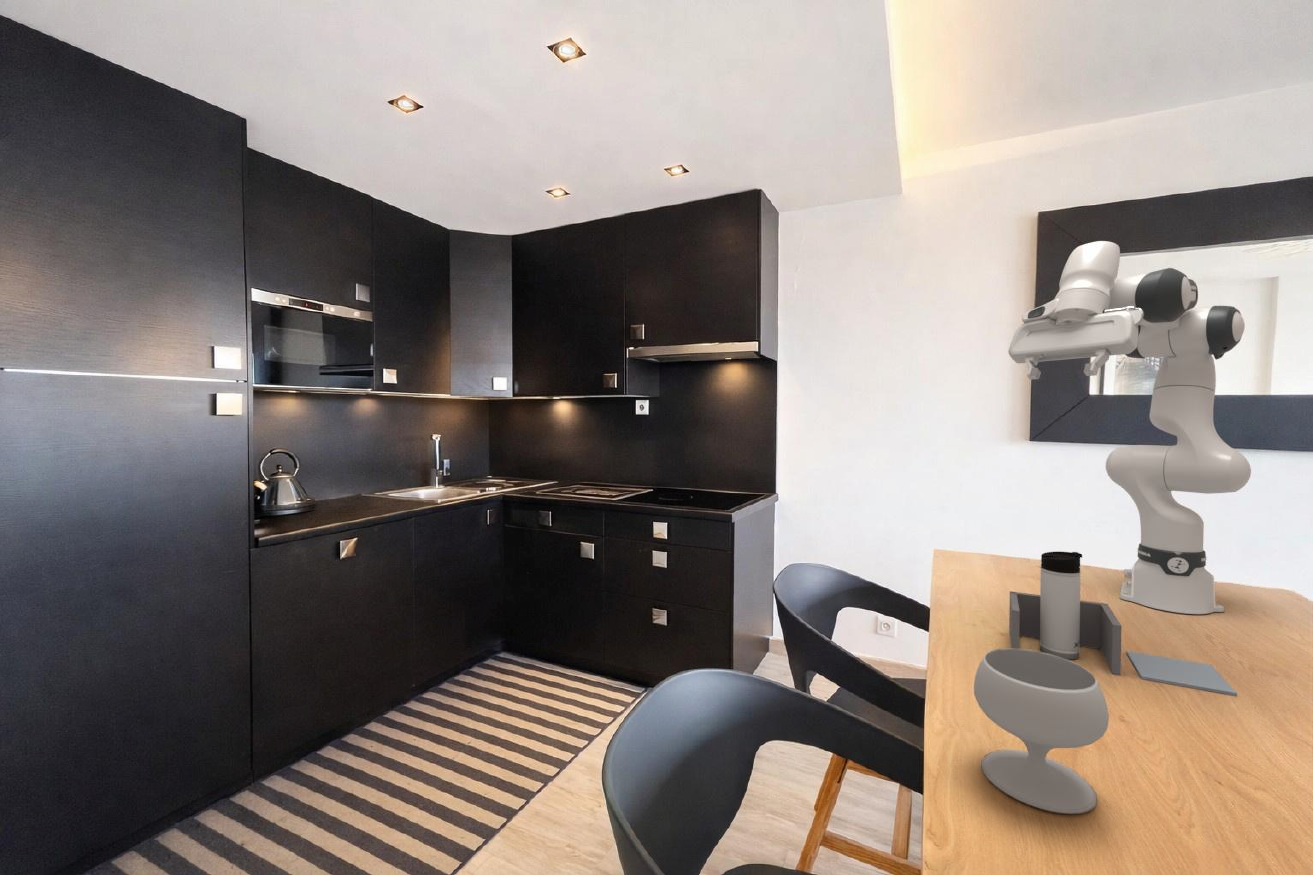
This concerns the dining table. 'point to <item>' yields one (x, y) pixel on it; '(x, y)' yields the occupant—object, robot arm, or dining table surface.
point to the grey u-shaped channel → (1094, 626)
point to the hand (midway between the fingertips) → (1060, 376)
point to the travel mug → (1060, 604)
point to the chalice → (1040, 725)
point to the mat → (1180, 673)
